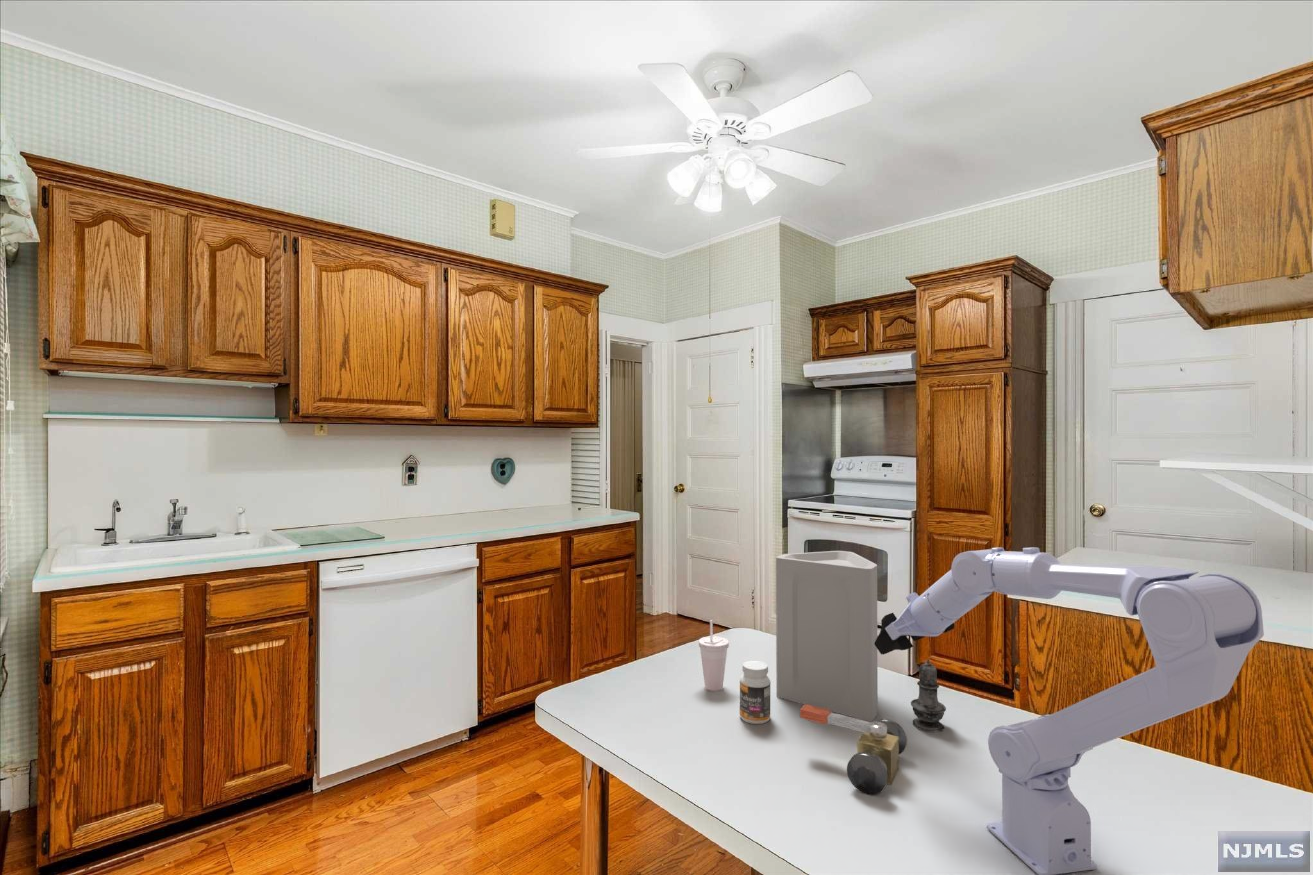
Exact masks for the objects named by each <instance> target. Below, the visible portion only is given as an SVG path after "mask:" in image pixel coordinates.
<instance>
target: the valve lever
mask: <svg viewBox="0 0 1313 875" xmlns="http://www.w3.org/2000/svg"><path fill="white" fill-rule="evenodd" d="M799 718H800V719H804V720H808V721H810V722H814V723H818V724H822V725H827V724H831V725H834V726H838V727H843V728H846V729H848V730H849V729H850V730H854V731H858V732H860V733H863V732H865V733H869V734H870V735H871V736H872V737H874V738H879V739H883V738H886V737H887V726H886V725H885V724H884V723H881V722H876V721H867V720H863V719H859V718H855V717H851V716H848V715H844V714H840V713H836V712H832V711H831V710H827V709H823V708H819V707H815V706H811V705H807V704H803V705H802V707H801V708H800V709H799Z"/></svg>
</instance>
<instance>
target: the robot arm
mask: <svg viewBox="0 0 1313 875" xmlns="http://www.w3.org/2000/svg"><path fill="white" fill-rule="evenodd" d="M1197 574H1199V571H1197V570H1196V571H1195V570H1191V569H1186V568H1175V567H1174V568H1173V567H1163V566H1151V565H1129V564H1128V565H1124V564H1123V565H1122V564H1120V565H1119V564H1086V563H1085V564H1082V563H1081V564H1080V563H1079V564H1077V563H1074V564H1073V563H1061V562H1060V561H1059V559H1058V558H1057V557H1056V556H1054V554H1051V553H1048V552H1041V551H1040V548H1039V547H1034V546H1033V547H1032V546H1031V547H1023V548H1022V551H1015V550H1013V551H1012V550H1011V551H1010V550H1009V551H1007V550H1005V549H1004V547H1000V546H999V547H991V548H989V549H980V550H967V551H964V552H960V553H958V554H957V555H955V557H953V560H952V562H951V569H950V570H949V571H947V572H946V573H945V574H944V575H942V576H941V577H940V578H939V579H938V580H937V581H935V582H934V583H933V584H932V585H931V586H930V587H928V588H927V589H925V591H924V592H923V593H921V594H920V595H918V593H917V592H912V593H909V594H907V595H906V597H905V599H906V600H907V602H908V604H907V606H906V607H905V608H904V610H902V612H901V613H900V615H899V616H898V617H897V616H896V615H895V614H894V612H891V613H888V614H885V615H884V616H883V617H882V619H881V620H880V621H881V622H880V624H881V627H880V631H879V632H878V633H879V634H877V639H876V641H875V643H874V644H875V646H876V647H877V651H878V652H879V654H880V655H881V656H882V655H886V654H889V653H891V652H893V651H895V650H897V651H906V650H908V649H912V648H913V647H914V645H913V643H912V642H911V641H910V639H909V638H908V636H909V637H910V638H911V639H912V641H913V642H916V641H919V640H921V639H924V638H926V637H938V636H940V635H941V634H943V633H948V632H950V631H953V630H954V629H955V627H956V626H955V622H956V621H958V620H959V619H960V618H962V616H964V615H965V614H967V613H968V612H969V611H971V610H972V609H974V608H975V607H976V606H977V605H979V604H980V603H981V602H982V601H984V600H985V599H987V597H989V596H990V595H991V594H993V592H996V593H999V594H1002V595H1007V596H1015V597H1016V596H1017V597H1027V598H1033V599H1044V600H1045V599H1046V600H1052V599H1054V598H1056V596H1058V595H1059V594H1060V593H1061V592H1062V591H1065V592H1069V593H1070V592H1071V593H1078V594H1079V593H1080V594H1086V595H1094V596H1099V597H1100V596H1101V597H1107V598H1114V599H1119V601H1120V602H1121V604H1122V606H1123V607H1124V609H1125V612H1126V613H1127V614H1128V615H1129V616H1131V617H1132V616H1137V615H1138V616H1137V617H1138V619H1139V622H1140V625H1141V627H1142V631H1143V632H1144V635H1145V639H1146V641H1147V644H1148V646H1149V648H1150V653H1151V655H1152V656H1153V660H1154V662H1155V666H1154V667H1152V668H1150V669H1148V670H1146V671H1143V672H1142V673H1138V674H1137V675H1134V676H1132V677H1131V678H1128V679H1126V680H1124V681H1122V682H1119V683H1118V684H1117V683H1116V684H1115V685H1112V686H1111V687H1108V688H1106V689H1104V690H1102V691H1100V692H1097V693H1096V694H1093V695H1090V696H1089V697H1087V698H1085V699H1082V700H1080V701H1077V702H1076V703H1073V704H1071V705H1069V706H1066V707H1064V708H1063V709H1061V710H1058V711H1056V712H1053V713H1052V714H1044V715H1040V716H1039V717H1037V718H1032V719H1029V720H1025V721H1021V722H1017V723H1014V724H1013V723H1012V724H1009V725H999V726H995V727H994V728H992V729H991V731H990V732H989V735H988V739H987V744H988V751H989V754H990V757H991V759H992V761H993V763H994V764H995V766H996V767H997V768H998V772H999V773H1000V774H1001V776H1002V777H1001V782H1002V783H1001V784H1002V785H1001V790H1002V791H1001V798H1002V799H1001V803H1002V804H1001V806H1002V808H1001V812H1002V814H1001V816H1002V817H1001V818H1002V819H1001V821H997V822H989V823H986V828H987V830H988V831H989V832H990V833H991V834H993V835H994V836H995V837H996V838H997V839H998V840H999V841H1001V842H1002V844H1004V845H1005V846H1006V847H1007V848H1008V849H1009V850H1010V851H1012V852H1013V853H1014V855H1016V856H1017V857H1018V858H1019V859H1020V860H1021V861H1022V862H1024V864H1026V865H1027V866H1028V867H1029V868H1030V869H1031V870H1032V871H1034V872H1035V873H1036V874H1037V875H1060V874H1061V875H1062V874H1070V873H1075V872H1076V873H1077V872H1084V871H1091V870H1097V869H1098V868H1097V867H1098V865H1097V863H1096V862H1095V861H1093V860H1092V847H1091V846H1092V843H1091V841H1092V836H1091V835H1092V833H1091V832H1092V826H1091V825H1092V822H1091V817H1090V813H1089V811H1088V810H1087V808H1086V806H1084V805H1083V803H1081V802H1080V801H1079V800H1078V799H1077V797H1076V796H1075V795H1074V793H1073V792H1072V790H1071V787H1070V784H1069V779H1070V778H1071V768H1073V767H1075V766H1077V765H1078V764H1079V762H1080V761H1081V759H1082V757H1083V755H1084V754H1085V753H1087V752H1088V751H1091V750H1093V749H1094V748H1096V747H1099V746H1102V745H1103V744H1106V743H1109V742H1111V741H1114V740H1116V739H1119V738H1123V737H1124V736H1127V735H1130V734H1133V733H1135V732H1138V731H1141V730H1143V729H1146V728H1148V727H1150V726H1153V725H1156V724H1158V723H1161V722H1164V721H1166V720H1167V721H1168V720H1169V719H1172V718H1174V717H1177V716H1179V715H1183V714H1185V713H1187V712H1190V711H1193V710H1196V709H1198V708H1201V707H1204V706H1206V705H1209V704H1211V703H1213V702H1217V701H1219V700H1221V699H1223V698H1225V697H1226V696H1227V695H1228V694H1229V693H1230V691H1231V689H1232V687H1233V686H1234V683H1235V681H1236V679H1237V676H1238V675H1239V673H1240V671H1241V669H1242V667H1243V665H1244V664H1245V661H1246V659H1247V657H1248V655H1249V653H1250V651H1251V650H1252V649H1253V648H1254V647H1255V645H1257V643H1259V641H1261V639H1262V638H1263V637H1264V635H1265V634H1264V633H1265V632H1264V623H1263V610H1262V606H1261V602H1260V599H1259V598H1258V597H1257V595H1256V593H1255V592H1254V590H1253V589H1252V588H1251V587H1250V586H1248V585H1247V584H1246V583H1245V582H1243V581H1241V580H1240V579H1238V578H1236V577H1233V576H1232V575H1231V576H1230V575H1227V574H1223V573H1208V574H1204V575H1199V576H1198V577H1193V578H1192V576H1194V575H1197Z"/></svg>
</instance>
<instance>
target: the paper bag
mask: <svg viewBox="0 0 1313 875" xmlns="http://www.w3.org/2000/svg"><path fill="white" fill-rule="evenodd" d="M775 593H776V594H775V608H776V609H775V612H776V614H775V617H776V618H775V628H776V629H775V631H776V632H775V633H776V634H775V635H776V636H775V637H776V638H775V643H776V645H775V648H776V649H775V651H776V652H775V653H776V654H775V657H776V666H775V668H776V670H775V671H776V676H775V677H776V680H775V681H776V697H777V698H780V697H781V698H780V699H783V698H784V700H787V699H789V700H788V701H791V702H795V703H799V704H803V705H805V704H807V705H811V706H815V707H819V708H823V709H827V710H831V712H832V711H833V712H832V713H835V714H839V715H843V716H847V717H851V718H855V719H859V720H863V721H867V722H872V721H873V720H874V719H875V718H876V716H877V715H878V713H879V710H878V709H879V708H878V706H879V705H878V699H879V698H878V696H879V695H878V690H879V689H878V687H879V686H878V678H879V677H878V649H877V647H876V646H875V644H874V643H875V641H876V639H877V637H878V564H877V563H874V562H873V561H870V560H869V559H867V558H865V557H863V556H861V555H859V554H857V553H855V552H853V551H845V550H830V551H829V550H828V551H813V552H796V553H795V552H794V553H783V554H780V555H777V556H776V557H775Z"/></svg>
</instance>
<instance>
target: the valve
mask: <svg viewBox="0 0 1313 875" xmlns="http://www.w3.org/2000/svg"><path fill="white" fill-rule="evenodd" d="M875 722H881V723H884V724H885V725H886V726H887V737H886V738H883V739H879V738H874V737H872V736H871V735H870V734H869V733H865V732H862V734H861V736H860V737H859V738H858V740H857V742H856V743H857V744H856V746H857V753H855V754H854V755H852V756H851V757H850V759H849V760H848V762H847V765H846V772H847V777H848V780H849V782H850V783H851V785H852V786H853V787H854V788H855V789H857V791H859V792H860V793H862V794H865V795H868V796H876V795H878V794H880V793H882V792H883V791H884V790H885V787H886V786H887V785H890V786H891V785H892V784H893V781H894V780H895V779H896V776H897V774H898V772H899V770H900V768H899V767H900V766H899V765H900V764H899V763H900V762H899V761H900V760H899V758H900V755H901V754H902V753H903V752H904V751H905V749H906V747H907V744H908V738H907V734H906V732H905V730H904V729H903V727H902V725H900V724H899V723H898V722H897V721H895V720H892V719H890V718H880V719H878V720H876V721H875Z"/></svg>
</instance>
